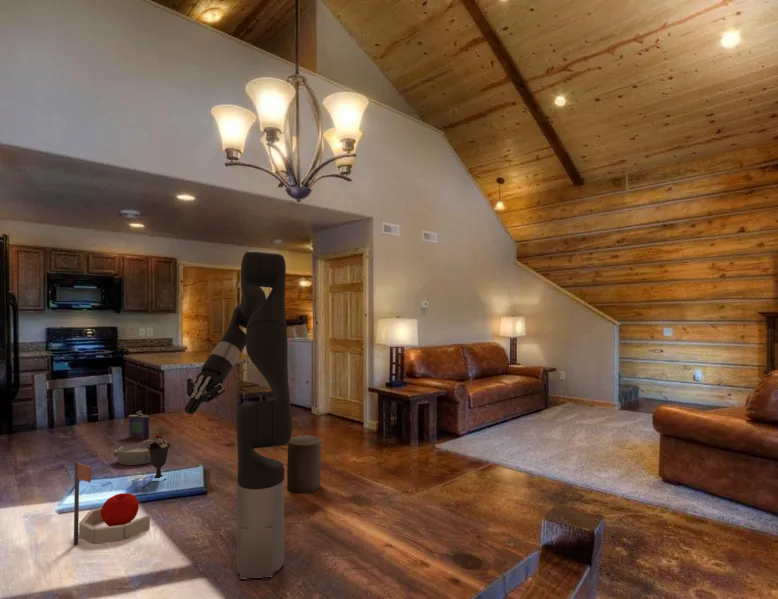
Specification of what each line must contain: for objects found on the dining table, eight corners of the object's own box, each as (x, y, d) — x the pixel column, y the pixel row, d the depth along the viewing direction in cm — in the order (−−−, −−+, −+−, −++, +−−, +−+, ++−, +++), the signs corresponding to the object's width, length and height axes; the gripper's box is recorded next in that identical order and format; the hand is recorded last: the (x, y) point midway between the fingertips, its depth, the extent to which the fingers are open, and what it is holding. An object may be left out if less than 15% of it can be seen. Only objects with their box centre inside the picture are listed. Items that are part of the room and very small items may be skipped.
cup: (114, 514, 113) (114, 442, 113) (149, 528, 106) (150, 452, 106) (56, 536, 102) (58, 457, 102) (92, 554, 94) (93, 469, 95)
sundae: (164, 473, 141) (164, 425, 141) (174, 478, 137) (174, 429, 137) (142, 479, 136) (142, 430, 136) (151, 485, 132) (152, 434, 132)
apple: (102, 537, 101) (102, 504, 102) (97, 524, 108) (98, 493, 108) (141, 526, 107) (142, 495, 107) (135, 514, 113) (135, 485, 113)
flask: (126, 438, 179) (127, 411, 179) (132, 436, 182) (132, 409, 182) (145, 439, 177) (146, 412, 177) (151, 437, 180) (151, 411, 180)
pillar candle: (287, 495, 125) (288, 441, 125) (286, 481, 134) (287, 431, 134) (322, 491, 127) (323, 439, 127) (318, 479, 137) (319, 429, 137)
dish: (107, 465, 149) (108, 450, 149) (140, 452, 162) (140, 438, 162) (144, 469, 145) (144, 453, 145) (174, 455, 159) (174, 441, 159)
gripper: (198, 350, 131) (162, 401, 121) (233, 356, 127) (199, 410, 116) (210, 364, 137) (177, 414, 127) (245, 370, 132) (213, 423, 122)
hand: (188, 412), depth 121 cm, fingers closed
